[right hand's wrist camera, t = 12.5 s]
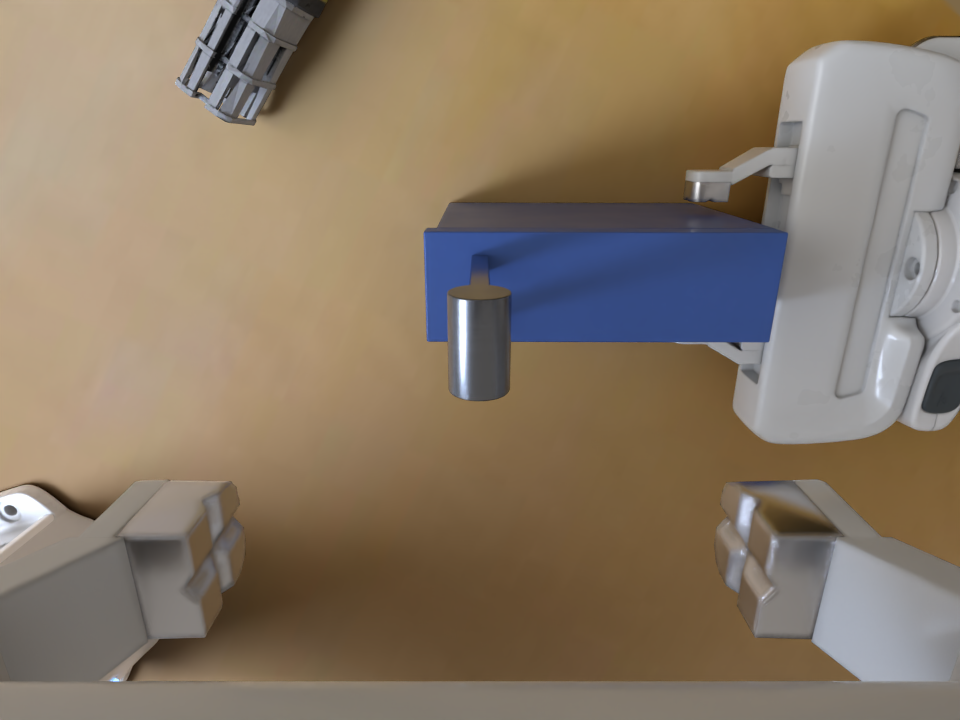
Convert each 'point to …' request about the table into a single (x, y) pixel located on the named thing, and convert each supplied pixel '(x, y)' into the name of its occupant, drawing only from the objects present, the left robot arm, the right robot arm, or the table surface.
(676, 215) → the chest
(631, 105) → the table surface
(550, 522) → the table surface
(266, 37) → the toy gun
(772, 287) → the lid
